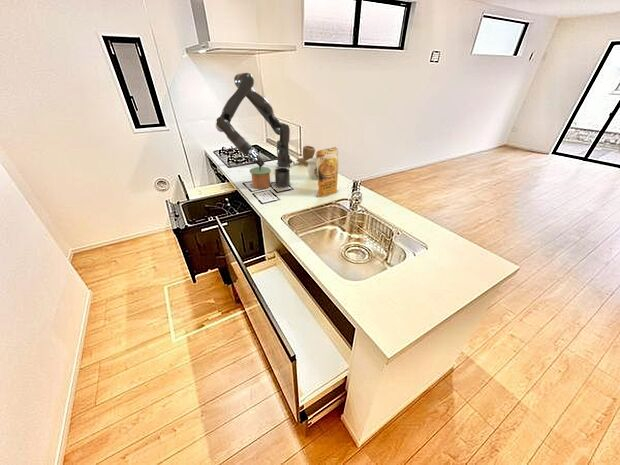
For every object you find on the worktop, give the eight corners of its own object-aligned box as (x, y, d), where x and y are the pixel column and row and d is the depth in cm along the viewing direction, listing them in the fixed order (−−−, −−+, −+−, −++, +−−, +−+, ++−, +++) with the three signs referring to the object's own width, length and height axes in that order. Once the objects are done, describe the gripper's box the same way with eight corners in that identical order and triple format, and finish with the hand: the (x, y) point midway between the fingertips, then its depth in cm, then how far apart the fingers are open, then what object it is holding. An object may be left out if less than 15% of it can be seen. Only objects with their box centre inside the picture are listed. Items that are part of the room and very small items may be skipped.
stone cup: (317, 165, 212) (317, 147, 204) (304, 167, 207) (304, 149, 199) (308, 160, 223) (308, 143, 215) (296, 162, 218) (295, 144, 210)
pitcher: (330, 177, 189) (331, 159, 182) (310, 182, 180) (310, 163, 173) (321, 173, 197) (322, 155, 189) (301, 177, 188) (301, 159, 181)
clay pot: (267, 181, 181) (266, 168, 176) (272, 187, 171) (271, 173, 166) (251, 183, 177) (249, 169, 172) (254, 189, 167) (253, 175, 162)
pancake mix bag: (311, 194, 162) (312, 150, 147) (333, 188, 172) (337, 145, 157) (318, 198, 158) (319, 152, 143) (340, 191, 168) (344, 148, 153)
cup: (287, 181, 182) (286, 167, 176) (291, 186, 174) (291, 171, 168) (273, 182, 178) (273, 168, 173) (277, 188, 171) (277, 173, 165)
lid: (267, 167, 177) (266, 153, 171) (273, 174, 166) (272, 158, 161) (247, 169, 172) (246, 154, 167) (252, 176, 161) (250, 161, 156)
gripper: (242, 143, 153) (263, 164, 159) (249, 138, 165) (269, 158, 171) (234, 152, 157) (255, 172, 162) (242, 146, 169) (262, 165, 174)
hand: (262, 165), depth 166 cm, fingers closed on lid, 3 cm apart
